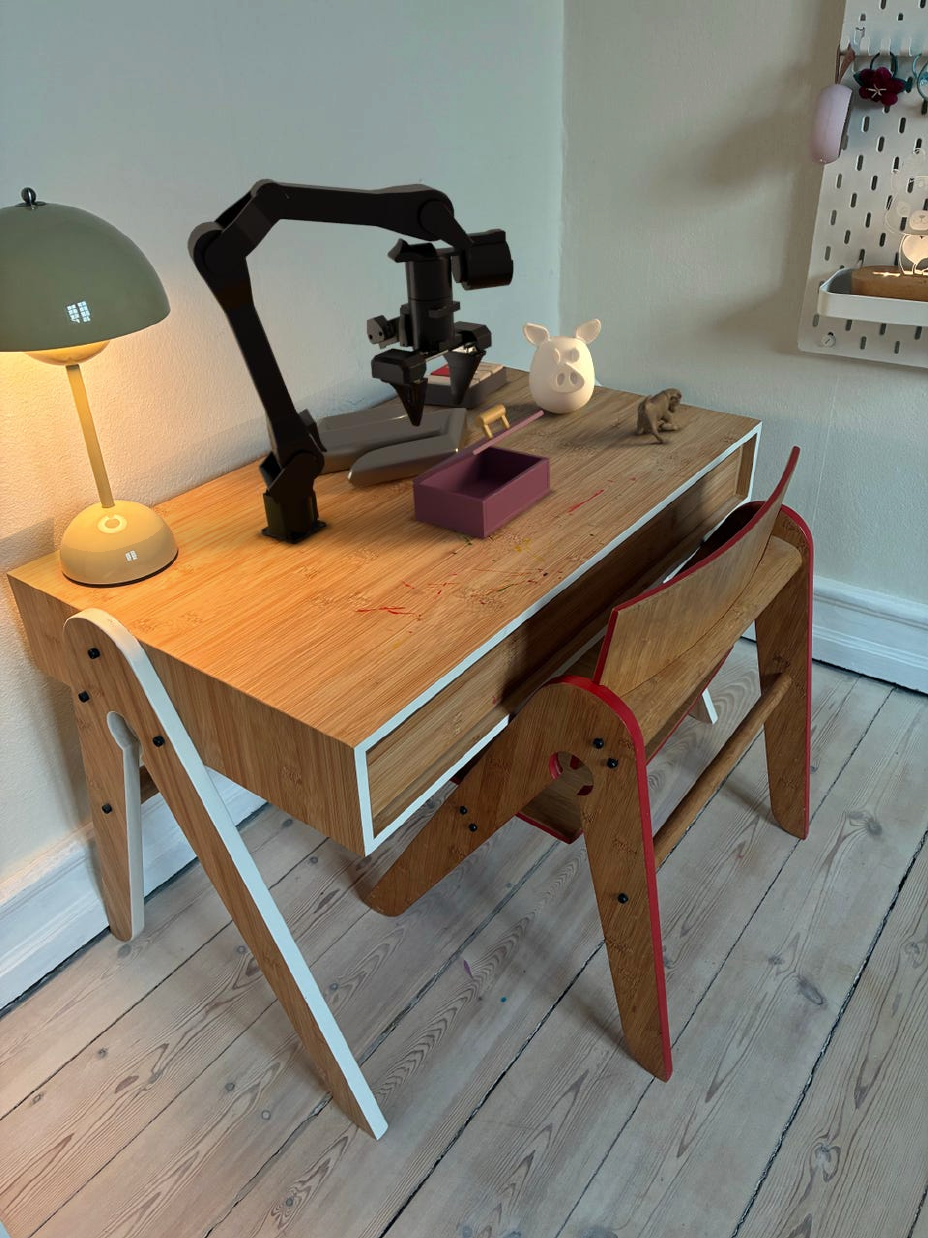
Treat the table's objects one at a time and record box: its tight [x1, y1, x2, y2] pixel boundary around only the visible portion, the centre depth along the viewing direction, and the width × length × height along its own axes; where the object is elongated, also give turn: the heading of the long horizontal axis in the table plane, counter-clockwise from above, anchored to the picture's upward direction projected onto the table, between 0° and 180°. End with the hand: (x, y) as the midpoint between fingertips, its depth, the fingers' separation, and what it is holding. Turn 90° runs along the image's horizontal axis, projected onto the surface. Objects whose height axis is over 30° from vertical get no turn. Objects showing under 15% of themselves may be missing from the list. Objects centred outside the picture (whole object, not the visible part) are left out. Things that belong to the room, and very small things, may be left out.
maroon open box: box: [412, 445, 551, 539], centre depth 133 cm, size 11×16×5 cm
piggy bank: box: [522, 318, 602, 414], centre depth 160 cm, size 12×12×15 cm
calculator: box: [424, 361, 507, 409], centre depth 173 cm, size 11×4×15 cm
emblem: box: [315, 403, 469, 488], centre depth 150 cm, size 28×5×28 cm
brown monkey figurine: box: [635, 387, 683, 444], centre depth 152 cm, size 12×6×7 cm, turn 145°
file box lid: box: [411, 404, 544, 485], centre depth 129 cm, size 12×16×4 cm
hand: (437, 414), depth 129 cm, fingers open, 9 cm apart
